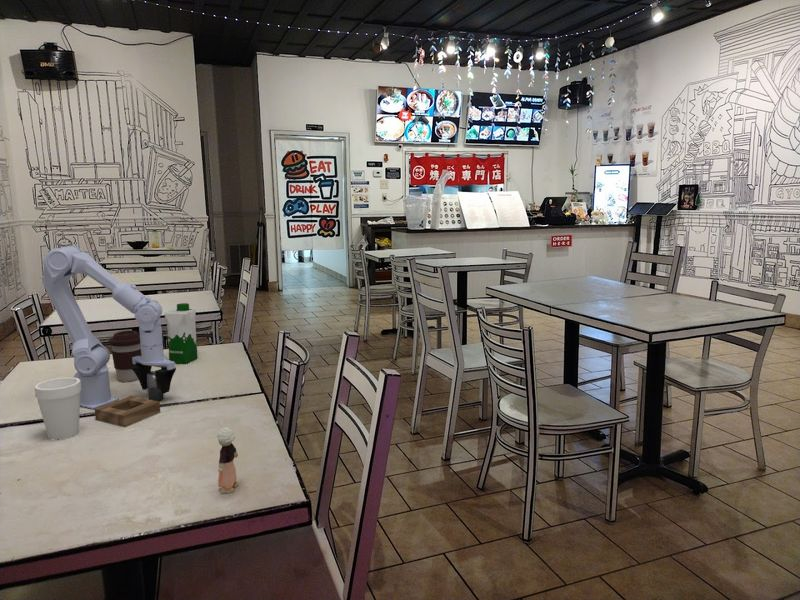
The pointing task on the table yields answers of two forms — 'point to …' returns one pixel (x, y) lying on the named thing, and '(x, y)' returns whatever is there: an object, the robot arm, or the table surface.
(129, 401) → the square wooden ring
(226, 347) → the table surface
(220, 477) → the grandmother figurine
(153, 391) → the round peg
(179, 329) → the milk carton
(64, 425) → the foam cup
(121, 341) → the coffee cup
